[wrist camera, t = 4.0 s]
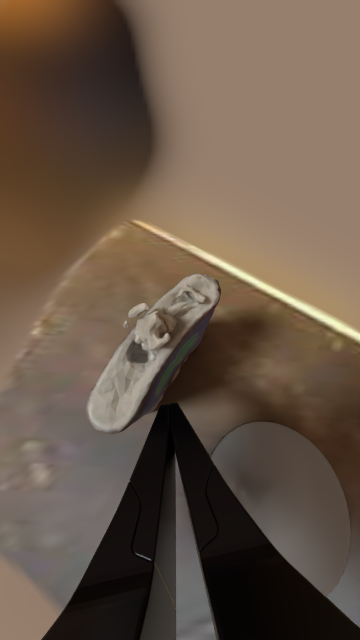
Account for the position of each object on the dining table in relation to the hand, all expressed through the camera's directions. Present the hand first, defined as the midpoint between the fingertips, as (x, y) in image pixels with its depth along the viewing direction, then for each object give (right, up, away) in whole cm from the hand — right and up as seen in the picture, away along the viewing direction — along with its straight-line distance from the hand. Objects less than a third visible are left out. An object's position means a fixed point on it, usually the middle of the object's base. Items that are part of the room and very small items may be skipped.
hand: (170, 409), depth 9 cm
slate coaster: (+7, -9, +4) cm, 12 cm away
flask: (-1, 0, +8) cm, 8 cm away
